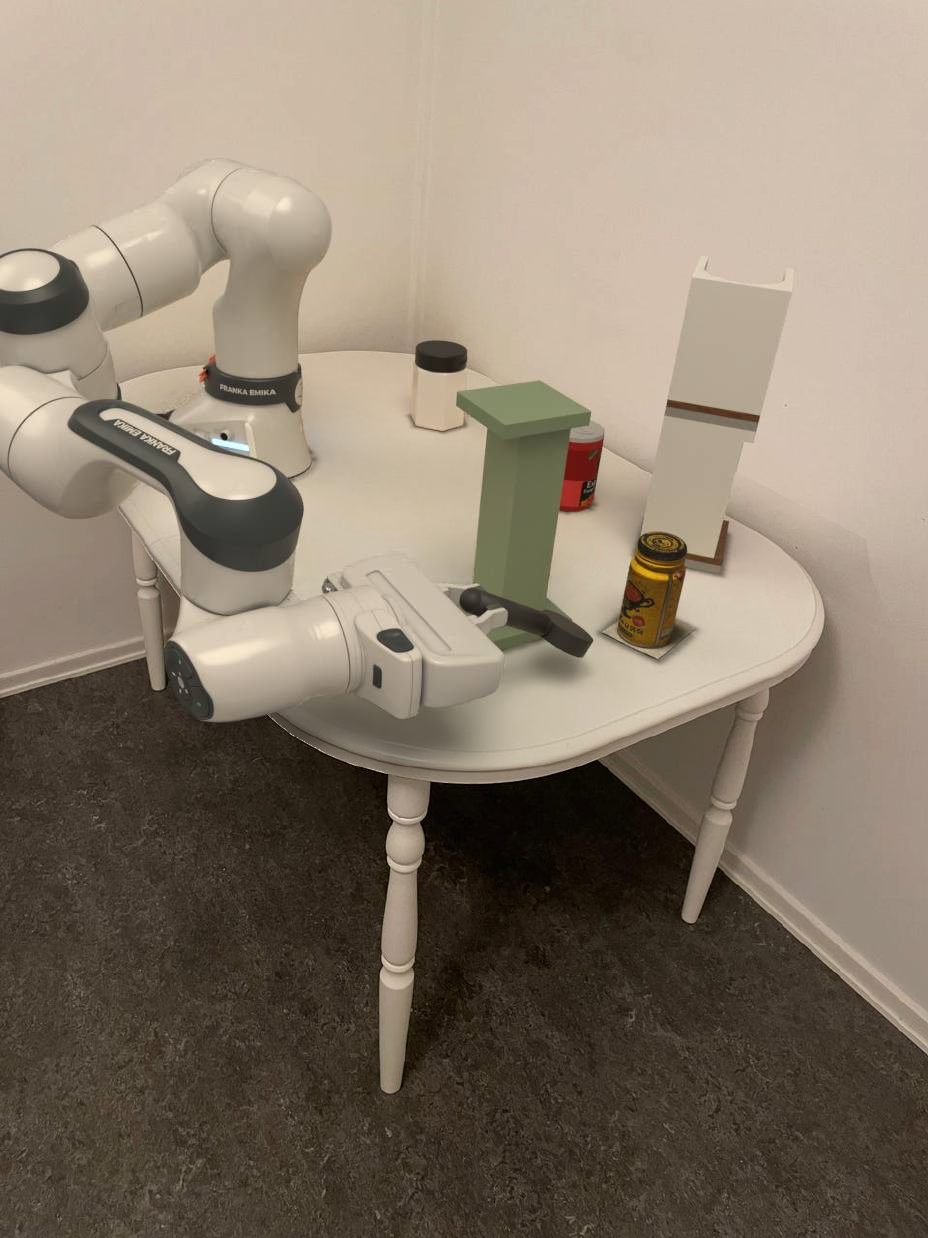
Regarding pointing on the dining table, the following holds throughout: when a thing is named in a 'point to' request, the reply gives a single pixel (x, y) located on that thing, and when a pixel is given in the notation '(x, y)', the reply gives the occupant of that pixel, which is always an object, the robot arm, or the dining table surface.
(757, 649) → the dining table surface
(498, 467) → the stand
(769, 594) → the dining table surface
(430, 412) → the jar
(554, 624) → the dark grey paddle
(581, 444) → the canned food
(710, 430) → the white channel column
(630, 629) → the condiment
